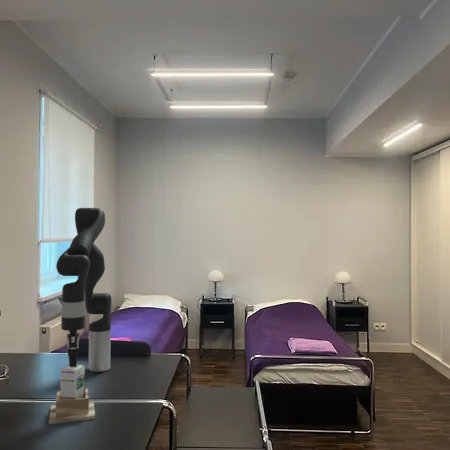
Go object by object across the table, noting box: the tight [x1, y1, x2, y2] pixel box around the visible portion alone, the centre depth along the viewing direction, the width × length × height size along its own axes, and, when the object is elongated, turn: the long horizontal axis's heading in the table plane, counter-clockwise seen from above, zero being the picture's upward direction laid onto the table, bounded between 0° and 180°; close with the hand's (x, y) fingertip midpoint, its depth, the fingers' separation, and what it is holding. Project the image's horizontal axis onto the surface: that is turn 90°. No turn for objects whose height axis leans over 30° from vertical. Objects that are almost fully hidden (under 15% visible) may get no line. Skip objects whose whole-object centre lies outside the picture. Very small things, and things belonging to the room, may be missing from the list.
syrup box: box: [60, 363, 86, 401], centre depth 149 cm, size 6×6×14 cm
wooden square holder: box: [48, 387, 96, 425], centre depth 149 cm, size 14×14×6 cm
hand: (72, 362), depth 149 cm, fingers open, 8 cm apart
